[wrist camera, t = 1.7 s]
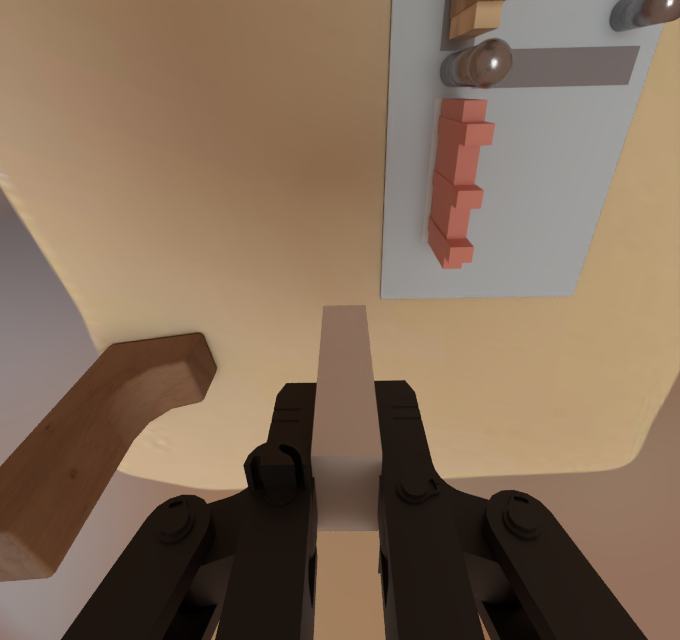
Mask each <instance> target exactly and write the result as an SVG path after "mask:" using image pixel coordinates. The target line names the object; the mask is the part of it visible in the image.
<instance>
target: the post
mask: <svg viewBox="0 0 680 640" xmlns="http://www.w3.org/2000/svg"><path fill="white" fill-rule="evenodd" d="M512 64H513V52H512V49H511V47H510V45H509V44H508V43H507V42H506V41H504V40H503V39H500V38H490V39H487V40H485V41H483V42H481V43H480V44H479V45H476V46H473V47H470V48H467V49H464V50H461V51H458V52H455V53H452V54H450V55H448V56H447V57H446V58H445V59H444V60H443V62H442V64H441V67H440V78H441V81H442V82H443V84H444V85H446V86H448V87H478V88H481V89H490V88H493V87H496V86H498V85H499V84H500V83H502V82H503V81H504V80H505V79H506V77H507V76H508V74H509V73H510V70H511V68H512Z"/></svg>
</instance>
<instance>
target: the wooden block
mask: <svg viewBox="0 0 680 640" xmlns="http://www.w3.org/2000/svg"><path fill="white" fill-rule="evenodd" d="M215 373H216V367H215V364H214V362H213V359H212V357H211V354H210V352H209V350H208V347H207V345H206V342H205V340H204V337H203V335H202V334H191V335H183V336H176V337H168V338H161V339H153V340H146V341H138V342H130V343H123V344H115V345H111V346H109V347H108V348H107V349H106V350H105V352H104V353H103V354H102V355H101V356H100V357H99V358H98V359H97V360H96V362H95V363H94V364H93V365H92V366H91V367H90V368H89V369H88V371H86V373H85V374H84V375H83V376H82V377H81V378H80V379H79V380H78V382H77V383H76V384H75V385H74V386H73V387H72V388H71V389H70V390H69V392H67V394H66V395H65V396H64V397H63V398H62V399H61V400H60V401H59V402H58V404H57V405H56V406H55V407H54V408H53V409H52V410H51V412H49V413H48V415H47V416H46V417H45V418H44V419H43V420H42V421H41V422H40V423H39V424H38V426H37V427H36V428H35V429H34V430H33V431H32V432H31V433H30V434H29V436H28V437H27V438H26V439H25V440H24V441H23V442H22V443H21V444H20V445H19V447H18V448H17V449H16V450H15V451H14V452H13V453H12V454H11V455H10V456H9V458H8V459H7V460H6V461H5V462H4V463H3V464H2V465H1V466H0V582H3V581H16V580H29V579H41V578H49V577H51V576H52V575H53V574H54V573H55V572H56V570H57V569H58V567H59V565H60V564H61V562H62V560H63V559H64V557H65V555H66V553H67V552H68V550H69V548H70V547H71V545H72V543H73V542H74V540H75V538H76V537H77V535H78V533H79V531H80V530H81V528H82V527H83V525H84V523H85V521H86V520H87V518H88V516H89V515H90V513H91V511H92V510H93V508H94V506H95V505H96V503H97V501H98V500H99V498H100V496H101V495H102V493H103V491H104V489H105V488H106V486H107V484H108V483H109V481H110V479H111V477H112V476H113V474H114V473H115V471H116V469H117V468H118V466H119V464H120V462H121V461H122V459H123V457H124V456H125V454H126V452H127V451H128V449H129V447H130V446H131V444H132V442H133V441H134V439H135V438H136V437H137V436H138V435H139V434H140V433H141V432H142V430H143V429H144V428H145V427H146V426H147V425H148V424H149V422H151V421H153V420H154V419H156V418H157V417H159V416H161V415H162V414H164V413H165V412H167V411H169V410H170V409H172V408H177V407H181V406H185V405H190V404H194V403H198V402H201V401H202V400H203V399H204V398H205V396H206V393H207V391H208V389H209V387H210V384H211V382H212V380H213V378H214V375H215Z"/></svg>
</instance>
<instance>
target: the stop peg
mask: <svg viewBox="0 0 680 640" xmlns="http://www.w3.org/2000/svg"><path fill="white" fill-rule="evenodd" d="M679 17H680V0H620V1H619V2H618V3H617V4H616V5H615V6H614V8H613V9H612V11H611V14H610V18H609V23H610V27H611V28H612V29H613V30H614V31H616V32H622V31H627V30H632V29H636V28H641V27H646V26H651V25H656V24H660V23H665V22H670V21H674V20H676V19H678V18H679Z"/></svg>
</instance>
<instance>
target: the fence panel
mask: <svg viewBox="0 0 680 640" xmlns="http://www.w3.org/2000/svg"><path fill="white" fill-rule="evenodd" d="M487 102H488V100H480V99H466V98H450V99H443V102H442V111H441V117H439V125H438V134H439V140H438V150H437V160H436V169H435V170H434V175H433V186H434V189H433V198H432V208H431V217H429V224H428V231H429V237H428V244H429V245H430V247H431V249H432V251H433V252H434V254H435V256H436V258H437V260H438V261H439V263H440V265H441V267H442V268H443V269H461V268H462V263H472V258H473V252H474V246H473V245H472V244H471V242H470V241H469V240H468V239H467V238H466V236H467V229H468V223H469V217H470V210H471V209H481V205H482V199H483V193H484V190H483V189H481V188H480V187H479V186H477V185H476V184H475V178H476V172H477V166H478V159H479V153H480V147H481V146H487V145H492V140H493V135H494V129H495V123H490V122H486V121H485V115H486V108H487Z"/></svg>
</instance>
